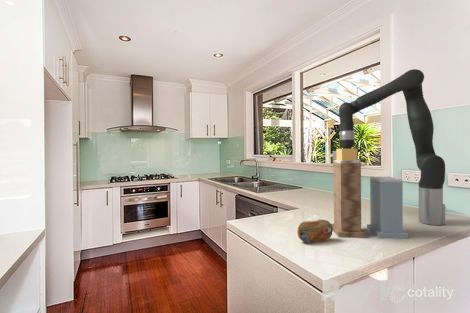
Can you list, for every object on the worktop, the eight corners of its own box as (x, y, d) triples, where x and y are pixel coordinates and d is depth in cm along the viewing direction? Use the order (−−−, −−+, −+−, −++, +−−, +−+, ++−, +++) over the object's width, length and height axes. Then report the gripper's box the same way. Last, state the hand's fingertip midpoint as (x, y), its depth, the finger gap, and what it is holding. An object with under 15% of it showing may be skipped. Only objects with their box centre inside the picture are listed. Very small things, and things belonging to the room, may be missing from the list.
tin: (300, 244, 94) (300, 223, 93) (296, 241, 97) (296, 221, 96) (333, 240, 98) (333, 219, 97) (328, 237, 101) (328, 217, 100)
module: (343, 158, 119) (343, 148, 119) (356, 160, 101) (356, 148, 101) (330, 159, 120) (330, 149, 120) (342, 160, 102) (341, 148, 102)
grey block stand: (392, 229, 109) (392, 176, 108) (408, 238, 97) (407, 179, 96) (366, 228, 110) (366, 176, 110) (379, 238, 98) (378, 179, 98)
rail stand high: (355, 228, 111) (354, 159, 110) (366, 237, 99) (365, 160, 98) (330, 227, 112) (330, 159, 112) (338, 237, 101) (337, 161, 100)
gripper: (358, 138, 127) (359, 168, 127) (349, 139, 141) (349, 167, 141) (343, 138, 128) (344, 169, 128) (336, 139, 142) (336, 167, 142)
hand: (347, 167), depth 135 cm, fingers open, 8 cm apart
